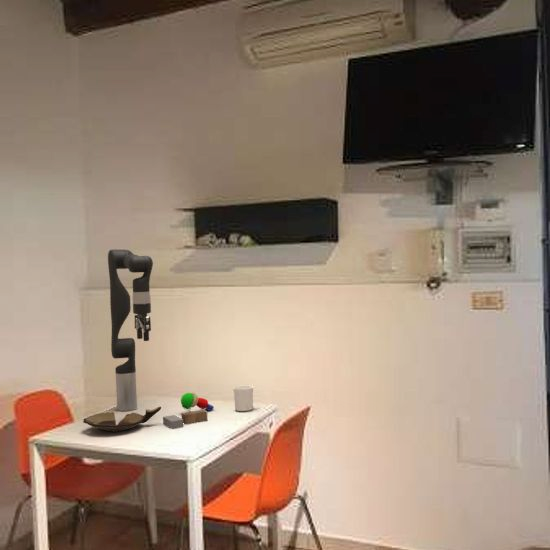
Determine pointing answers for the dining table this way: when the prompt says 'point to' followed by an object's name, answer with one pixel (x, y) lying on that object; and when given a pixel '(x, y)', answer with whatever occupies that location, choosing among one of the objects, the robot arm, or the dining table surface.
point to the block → (194, 417)
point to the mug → (243, 398)
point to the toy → (194, 402)
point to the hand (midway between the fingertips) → (143, 339)
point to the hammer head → (173, 421)
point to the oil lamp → (130, 420)
